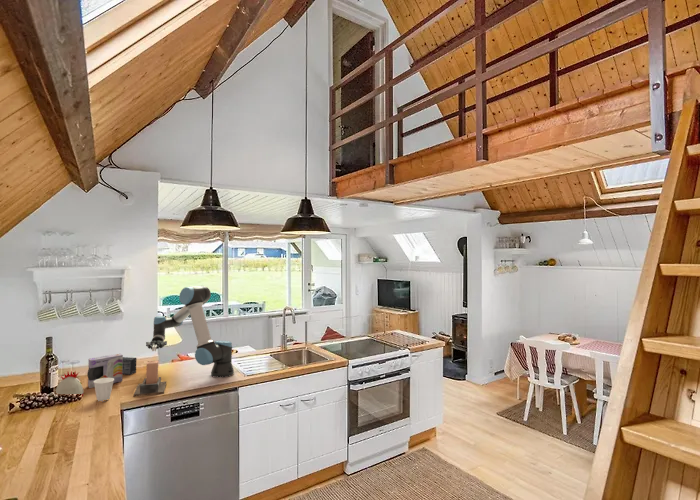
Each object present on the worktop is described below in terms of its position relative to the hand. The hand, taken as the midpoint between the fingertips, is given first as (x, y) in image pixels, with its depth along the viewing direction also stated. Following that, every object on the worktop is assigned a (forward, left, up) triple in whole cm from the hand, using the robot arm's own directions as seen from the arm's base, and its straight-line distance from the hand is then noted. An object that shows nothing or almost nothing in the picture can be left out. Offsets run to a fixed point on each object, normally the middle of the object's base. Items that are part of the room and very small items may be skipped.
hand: (154, 349), depth 250 cm
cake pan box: (+28, -7, -22) cm, 36 cm away
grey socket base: (0, +12, -22) cm, 25 cm away
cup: (+23, +22, -22) cm, 39 cm away
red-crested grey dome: (+42, +12, -22) cm, 49 cm away
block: (0, +6, -21) cm, 22 cm away
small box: (+19, -28, -22) cm, 40 cm away
